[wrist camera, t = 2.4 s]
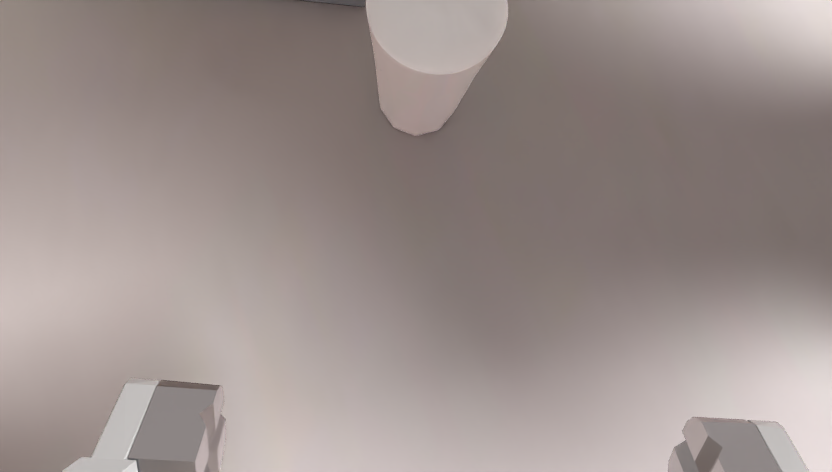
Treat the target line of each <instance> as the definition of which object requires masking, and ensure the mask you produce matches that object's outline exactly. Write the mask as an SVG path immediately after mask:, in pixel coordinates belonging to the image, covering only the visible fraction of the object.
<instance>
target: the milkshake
mask: <svg viewBox="0 0 832 472" xmlns="http://www.w3.org/2000/svg"><path fill="white" fill-rule="evenodd" d="M366 12H367V18H368V24H369V30H370V35H371V41H372V46H373V52H374V58H375V67H376V76H377V84H378V93H379V102H380V108H381V110H382V111H383V113H384V114H385V116H386V117H387V119H388V120H389V122H390V123H391V125H392V126H393V128H396V129H399V130H401V131H404V132H406V133H409V134H412V135H414V136H418V135H422V134H426V133H430V132H435V131H438V130H439V129H440V128H441V127H442V126H443V124H444V123H445V122H446V121H447V120H448V118H449V117H450V116H451V115H452V114H453V112H454V111H455V109H456V108H457V106H458V104H459V102H460V101H461V99H462V97H463V96H464V94H465V92H466V91H467V89H468V87H469V86H470V84H471V82H472V81H473V79H474V77H475V75H476V74H477V73H478V71H479V70H480V69H481V67H482V66H483V64H484V63H485V61H486V60H487V58H488V57H489V56H490V54H491V53H492V51H493V50H494V48H495V47H496V45H497V44H498V42H499V41H500V39H501V37H502V35H503V33H504V31H505V28H506V25H507V20H508V3H507V0H366Z"/></svg>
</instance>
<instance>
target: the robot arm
mask: <svg viewBox="0 0 832 472" xmlns="http://www.w3.org/2000/svg"><path fill="white" fill-rule="evenodd" d="M223 403H224V393H223V387H222V386H220V385H210V384H199V383H189V382H178V381H167V380H151V379H140V378H130V379H129V380H128V381H127V383H126V384H125V385H124V386H123V388H122V391H121V393H120V395H119V397H118V399H117V401H116V404H115V406H114V408H113V410H112V412H111V414H110V416H109V419H108V421H107V423H106V425H105V427H104V429H103V432H102V434H101V436H100V438H99V440H98V442H97V445H96V447H95V449H94V451H93V453H92V455H91V457H80V458H79V459H78V460H76V461H75V462H74V463H72V464H71V465H70V466H68V467H67V468H65V469H64V470H63V471H61V472H220V468H221V464H222V460H223V454H224V448H225V440H226V419H225V418H224V417H223V416H222V415H221V411H222V407H223ZM682 432H683V434H684V437H685V439H686V440H685V441H684V442H682V443H681V444H679V445H678V446H676V447H674V449H673V451H672V454H671V456H670V459H669V463H668V472H809V470H808V468H807V467H806V465H805V463H804V462H803V460H802V458H801V456H800V455H799V453H798V451H797V450H796V448H795V446H794V444H793V443H792V441H791V439H790V437H789V436H788V434H787V432H786V431H785V429H784V428H783V426H781V425H780V424H779V423H778V422H771V421H755V420H742V419H725V418H707V417H692V418H691V419H689V420H688V421H687V422H686V424H685V426H684V428H683V430H682Z"/></svg>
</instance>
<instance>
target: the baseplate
mask: <svg viewBox="0 0 832 472" xmlns="http://www.w3.org/2000/svg"><path fill="white" fill-rule="evenodd" d="M303 1H313V2H323V3H332V4H342V5H351V6H361V7H365V0H303Z"/></svg>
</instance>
